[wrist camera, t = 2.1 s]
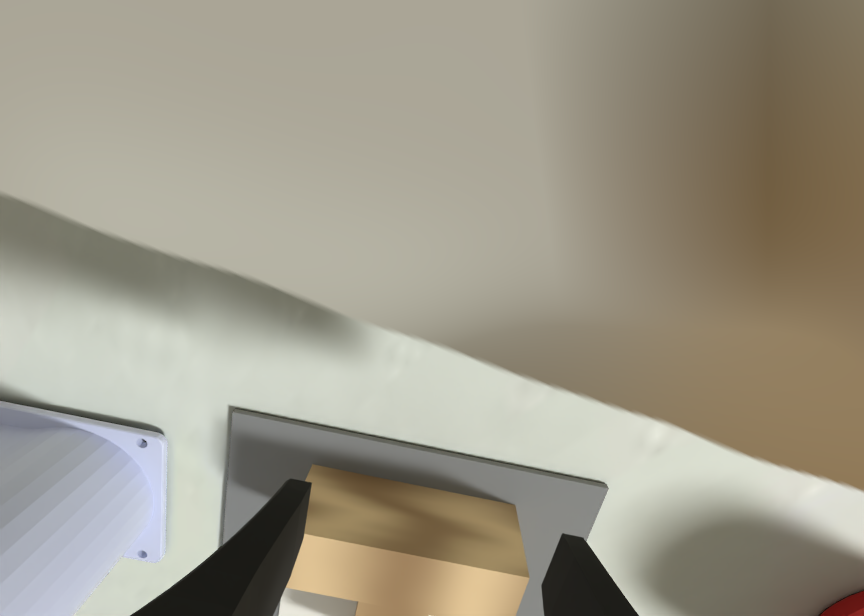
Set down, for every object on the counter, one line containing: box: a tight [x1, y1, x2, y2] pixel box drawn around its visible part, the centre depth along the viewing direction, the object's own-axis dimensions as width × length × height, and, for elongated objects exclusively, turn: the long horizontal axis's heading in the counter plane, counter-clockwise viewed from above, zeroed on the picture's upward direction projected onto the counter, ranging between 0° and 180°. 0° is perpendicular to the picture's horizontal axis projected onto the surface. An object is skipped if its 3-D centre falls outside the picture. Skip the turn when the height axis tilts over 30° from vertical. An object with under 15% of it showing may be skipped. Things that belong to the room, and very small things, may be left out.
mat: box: [223, 409, 609, 616], centre depth 24 cm, size 18×22×1 cm
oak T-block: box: [286, 464, 530, 616], centre depth 21 cm, size 10×10×4 cm
